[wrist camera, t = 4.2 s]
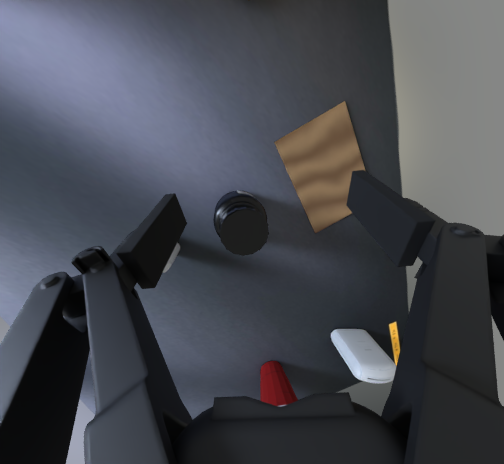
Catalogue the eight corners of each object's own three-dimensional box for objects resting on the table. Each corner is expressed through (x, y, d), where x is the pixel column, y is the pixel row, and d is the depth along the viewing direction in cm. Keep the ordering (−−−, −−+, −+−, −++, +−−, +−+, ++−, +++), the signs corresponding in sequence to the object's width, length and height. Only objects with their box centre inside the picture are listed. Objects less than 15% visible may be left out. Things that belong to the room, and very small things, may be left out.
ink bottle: (268, 225, 39) (286, 248, 28) (228, 243, 39) (231, 274, 28) (248, 180, 36) (260, 186, 25) (205, 200, 36) (197, 215, 25)
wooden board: (274, 142, 34) (274, 142, 34) (343, 101, 34) (345, 101, 33) (314, 232, 41) (315, 233, 41) (372, 200, 41) (374, 200, 40)
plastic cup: (243, 378, 52) (249, 436, 41) (263, 349, 50) (274, 402, 38) (276, 386, 55) (290, 442, 44) (296, 359, 53) (316, 412, 41)
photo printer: (366, 327, 53) (407, 373, 41) (361, 340, 54) (399, 387, 42) (332, 326, 51) (365, 374, 39) (328, 339, 52) (358, 388, 40)
